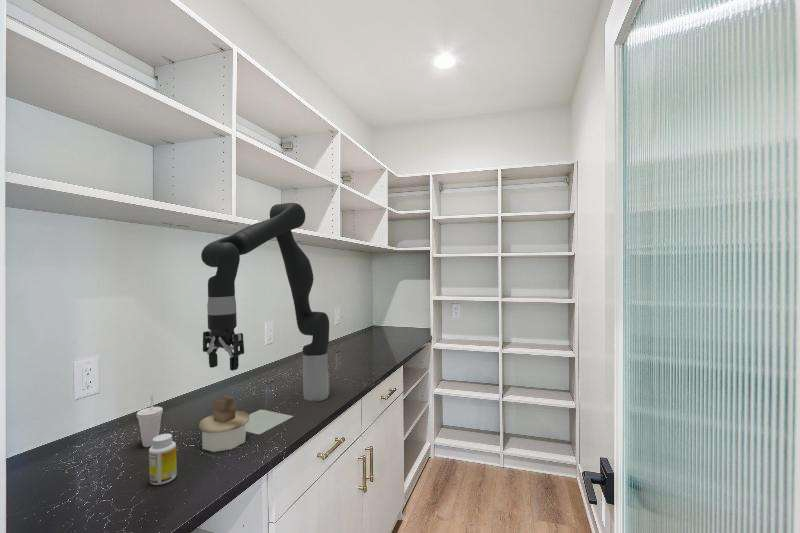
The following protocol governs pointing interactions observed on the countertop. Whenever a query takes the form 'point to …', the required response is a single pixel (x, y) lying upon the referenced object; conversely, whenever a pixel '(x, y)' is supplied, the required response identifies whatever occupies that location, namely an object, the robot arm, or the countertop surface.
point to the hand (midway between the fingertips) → (223, 368)
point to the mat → (264, 421)
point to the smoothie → (149, 423)
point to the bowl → (223, 439)
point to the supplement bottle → (162, 460)
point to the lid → (224, 417)
